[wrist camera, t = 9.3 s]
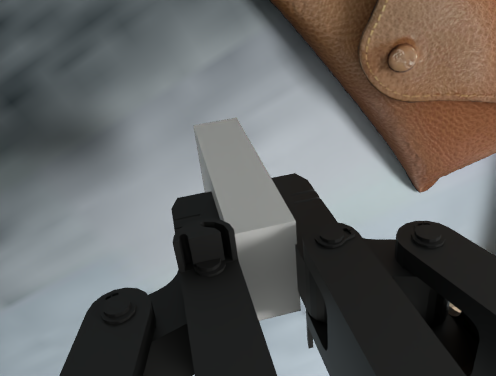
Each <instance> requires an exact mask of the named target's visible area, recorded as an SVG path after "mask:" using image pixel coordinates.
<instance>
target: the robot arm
mask: <svg viewBox="0 0 496 376" xmlns="http://www.w3.org/2000/svg"><path fill="white" fill-rule="evenodd" d="M193 126H194V132H195V138H196V144H197V150H198V155H199V161H200V167H201V173H202V179H203V184H204V190H205V193H200V194H195V195H190V196H185V197H180V198H177V200H176V201H175V203H174V205H173V207H172V215H173V221H174V229H175V235H174V238H173V246H174V251H175V255H176V260H177V264H178V268H179V270H178V273H177V275H176V276H175V277H174V279H173V280H172V281H171V282H170V283H168V284H167V285H166V286H164V287H163V288H161V289H159V290H158V291H155V292H153V293H151V294H149V295H147V293H146V292H144V291H142V290H140V289H138V288H122V289H117V290H113V291H111V292H109V293H107V294H105V295H102V296H101V297H100V298H99V299H97V300H96V301H95V302H94V303H93V304H92V305H91V307H90V308H89V310H88V311H87V313H86V315H85V317H84V320H83V322H82V324H81V327H80V329H79V331H78V334H77V336H76V338H75V341H74V343H73V345H72V348H71V350H70V352H69V355H68V357H67V359H66V362H65V364H64V366H63V369H62V371H61V373H60V376H192V375H194V374H195V376H277V374H276V371H275V368H274V365H273V362H272V359H271V356H270V353H269V350H268V347H267V344H266V341H265V338H264V335H263V332H262V329H261V326H260V323H259V321H260V320H264V319H268V318H272V317H276V316H280V315H284V314H288V313H293V312H297V311H301V307H300V296H301V299H302V301H303V303H304V305H305V307H306V319H307V340H308V346H309V348H312V347H313V339H314V341H315V344H316V346H317V348H318V350H319V353H320V355H321V357H322V359H323V362H324V364H325V366H326V368H327V371H328V373H329V375H330V376H496V256H494V255H493V254H491V253H489V252H488V251H486V250H485V249H483V248H481V247H480V246H478V245H476V244H475V243H473V242H472V241H470V240H468V239H467V238H465V237H463V236H462V235H460V234H459V233H457V232H455V231H454V230H452V229H450V228H449V227H446V226H444V225H442V224H440V223H435V222H430V221H414V222H410V223H406V224H405V225H403V226H402V227H400V228H399V230H398V232H397V234H396V240H375V239H365V238H362V237H361V235H360V234H359V233H358V232H357V231H356V230H355V229H354V228H352V227H350V226H348V225H345V224H343V223H338V222H337V221H336V219H335V218H334V217H333V215H332V214H331V212H330V211H329V210H328V208H327V207H326V205H325V204H324V203H323V201H322V200H321V199H320V198H319V196H318V194H317V193H316V191H314V189H313V187H312V186H311V184H310V183H309V182H308V180H306V179H304V178H303V177H301V176H299V175H297V174H295V173H294V174H289V175H284V176H279V177H274V178H271V177H270V175H269V173H268V172H267V170H266V168H265V167H264V165H263V163H262V161H261V160H260V158H259V156H258V154H257V153H256V151H255V149H254V147H253V146H252V144H251V142H250V140H249V139H248V137H247V135H246V133H245V132H244V130H243V128H242V126H241V125H240V123H239V121H238V119H237V118H232V119H227V120H221V121H215V122H210V123H204V124H199V125H193ZM450 303H451V304H453V305H454V306H455V307H456V308H458V309H459V310H460V311H461V313H460V312H457V311H456V310H454V309H453V308H452V307H450V306H449V304H450Z"/></svg>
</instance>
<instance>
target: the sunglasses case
mask: <svg viewBox="0 0 496 376" xmlns="http://www.w3.org/2000/svg"><path fill="white" fill-rule="evenodd" d="M270 1H271V2H272V3H273V4H274V5H275V6H276V7H277V8H278V9H279V10H280V11H281V12H282V14H283V15H284V17H285V18H286V19H287V20H288V21H289V22H290V23H291V24H292V26H293V27H294V28H295V29H296V31H297V32H298V33H299V34H301V36H302V37H303V39H304V40H305V41H306V42H307V43H308V44H309V46H310V47H311V48H312V49H313V50H314V52H315V53H316V54H317V56H318V57H319V58H320V59H321V60H322V61H323V63H324V64H325V65H326V66H327V67H328V69H329V70H330V71H331V72H332V73H333V75H334V76H335V77H336V78H337V80H338V81H339V82H340V83H341V85H342V86H343V88H344V89H345V91H346V92H347V93H348V94H349V95H350V96H351V97H352V98H353V100H354V101H355V102H356V103H357V104H358V105H359V107H360V108H361V110H362V112H363V113H364V114H365V115H366V116H367V117H368V119H369V120H370V121H371V123H372V124H373V125H374V126H375V128H376V130H377V131H378V132H379V133H380V134H381V135H382V137H383V138H384V140H385V141H386V142H387V144H388V145H389V146H390V148H391V149H392V151H393V153H394V154H395V155H396V157H397V159H398V160H399V161H400V163H401V165H402V167H403V168H404V169H405V171H406V173H407V175H408V177H409V179H410V180H411V182H412V184H413V185H414V187H415V188H416V189H417V190H418V191H419V192H424V191H426V190H428V189H429V188H430V187H432V186H433V185H434V184H435V182H436V181H437V180H438V179H439V178H440V177H442V176H446V175H448V174H449V173H451V172H454V171H456V170H458V169H461V168H463V167H465V166H467V165H470V164H472V163H474V162H476V161H479V160H480V159H484V158H486V157H488V156H490V155H492V154H495V153H496V0H270Z"/></svg>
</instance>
